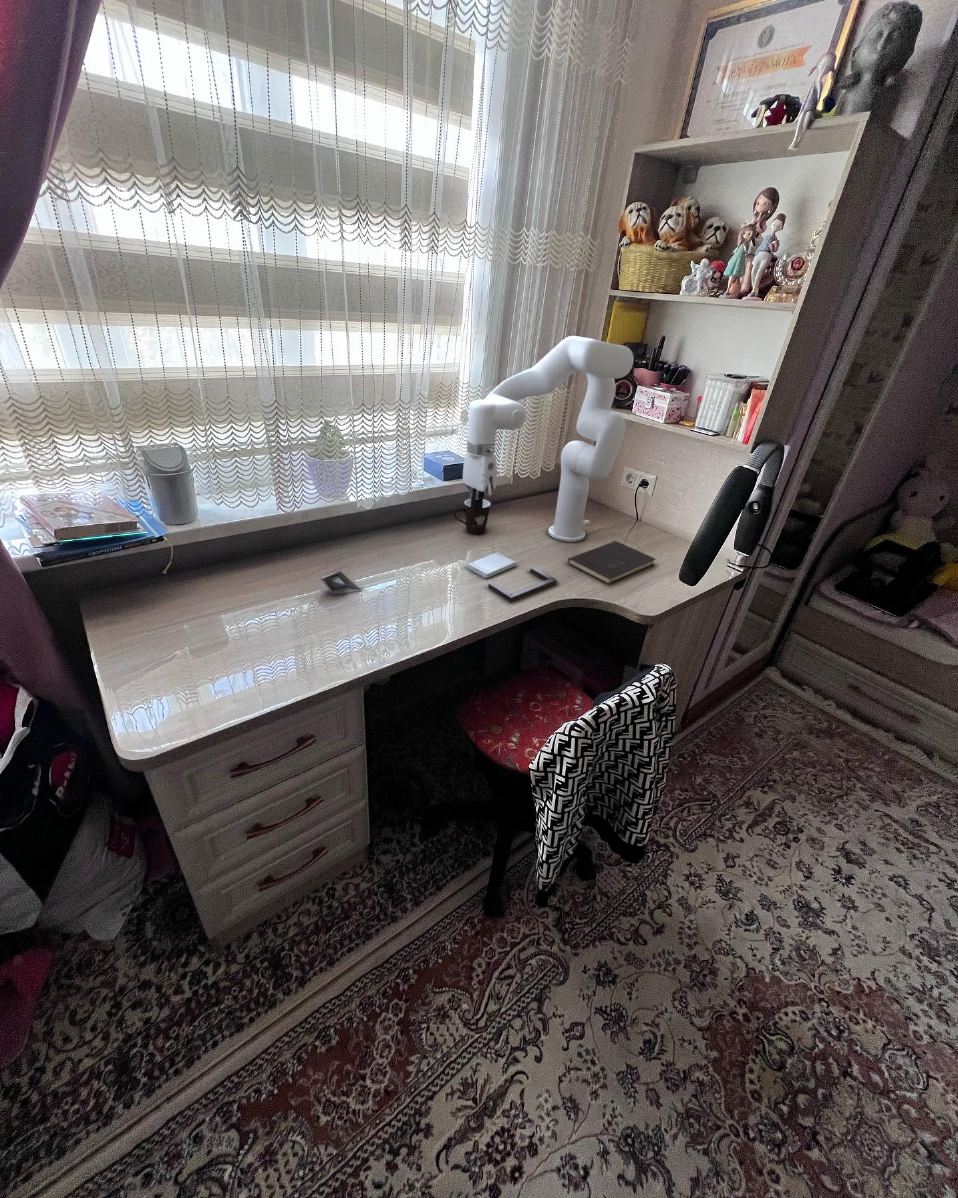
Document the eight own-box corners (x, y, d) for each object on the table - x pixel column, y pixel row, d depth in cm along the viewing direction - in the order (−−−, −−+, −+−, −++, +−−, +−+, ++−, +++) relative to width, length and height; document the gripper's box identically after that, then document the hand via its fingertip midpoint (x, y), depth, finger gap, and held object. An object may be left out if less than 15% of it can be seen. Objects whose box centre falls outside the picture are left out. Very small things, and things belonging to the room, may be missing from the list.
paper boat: (351, 575, 145) (371, 579, 139) (345, 597, 145) (365, 602, 139) (313, 563, 136) (333, 567, 130) (307, 587, 136) (326, 592, 130)
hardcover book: (653, 565, 166) (655, 558, 165) (608, 585, 153) (610, 578, 152) (613, 546, 176) (614, 540, 175) (567, 563, 163) (568, 556, 162)
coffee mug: (489, 527, 183) (491, 499, 178) (487, 537, 176) (489, 509, 170) (456, 523, 184) (457, 496, 178) (452, 533, 176) (453, 505, 171)
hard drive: (496, 552, 163) (467, 563, 155) (516, 561, 158) (486, 573, 150) (495, 556, 164) (466, 568, 156) (515, 566, 159) (486, 578, 151)
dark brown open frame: (533, 571, 157) (534, 566, 156) (556, 584, 151) (557, 579, 151) (487, 588, 147) (488, 583, 146) (510, 602, 141) (511, 597, 140)
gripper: (509, 453, 143) (502, 516, 153) (473, 439, 153) (470, 500, 162) (488, 456, 139) (483, 521, 148) (453, 442, 148) (450, 504, 158)
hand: (476, 510), depth 155 cm, fingers closed
